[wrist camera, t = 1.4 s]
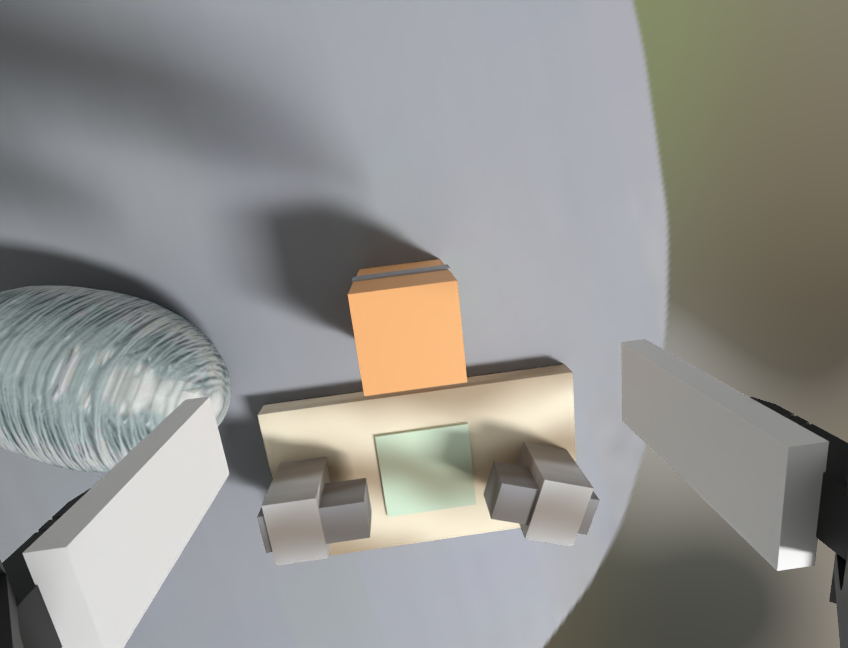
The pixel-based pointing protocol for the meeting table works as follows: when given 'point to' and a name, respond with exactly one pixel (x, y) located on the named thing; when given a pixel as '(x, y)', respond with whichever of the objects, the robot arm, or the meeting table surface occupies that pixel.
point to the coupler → (407, 327)
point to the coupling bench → (424, 466)
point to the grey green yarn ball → (96, 373)
